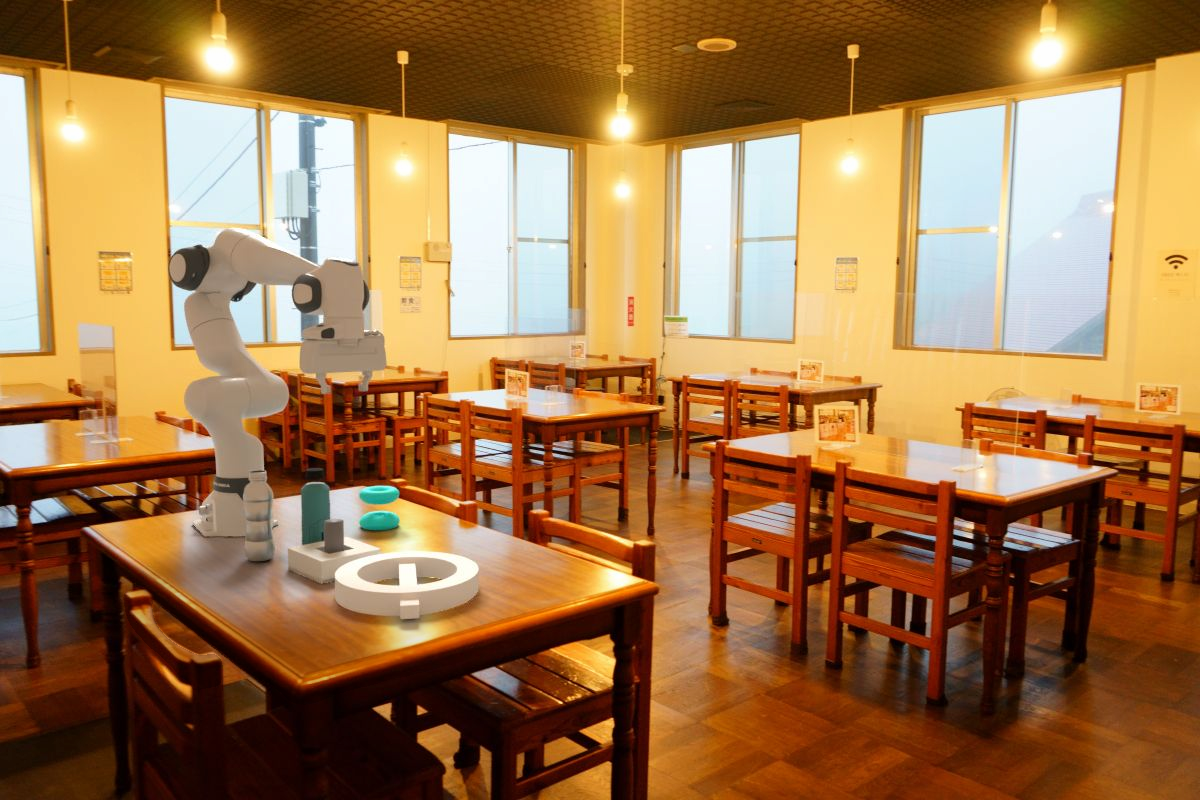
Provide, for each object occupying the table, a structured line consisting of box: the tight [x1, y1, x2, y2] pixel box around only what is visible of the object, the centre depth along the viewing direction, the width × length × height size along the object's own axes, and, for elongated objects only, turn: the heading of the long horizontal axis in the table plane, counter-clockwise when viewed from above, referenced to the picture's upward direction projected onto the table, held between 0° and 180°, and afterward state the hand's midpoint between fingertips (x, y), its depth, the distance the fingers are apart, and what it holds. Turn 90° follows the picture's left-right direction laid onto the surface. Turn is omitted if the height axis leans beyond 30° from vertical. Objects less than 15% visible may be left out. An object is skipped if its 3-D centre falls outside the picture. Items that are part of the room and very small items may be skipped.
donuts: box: [358, 485, 401, 532], centre depth 233 cm, size 10×10×10 cm
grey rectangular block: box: [324, 518, 345, 554], centre depth 195 cm, size 4×4×10 cm
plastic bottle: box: [243, 469, 276, 562], centre depth 201 cm, size 6×7×20 cm
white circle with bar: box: [334, 550, 480, 620], centre depth 182 cm, size 28×28×5 cm
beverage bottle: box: [300, 467, 331, 545], centre depth 206 cm, size 6×7×20 cm
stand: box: [287, 536, 382, 584], centre depth 196 cm, size 14×14×5 cm
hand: (344, 392), depth 205 cm, fingers open, 8 cm apart
